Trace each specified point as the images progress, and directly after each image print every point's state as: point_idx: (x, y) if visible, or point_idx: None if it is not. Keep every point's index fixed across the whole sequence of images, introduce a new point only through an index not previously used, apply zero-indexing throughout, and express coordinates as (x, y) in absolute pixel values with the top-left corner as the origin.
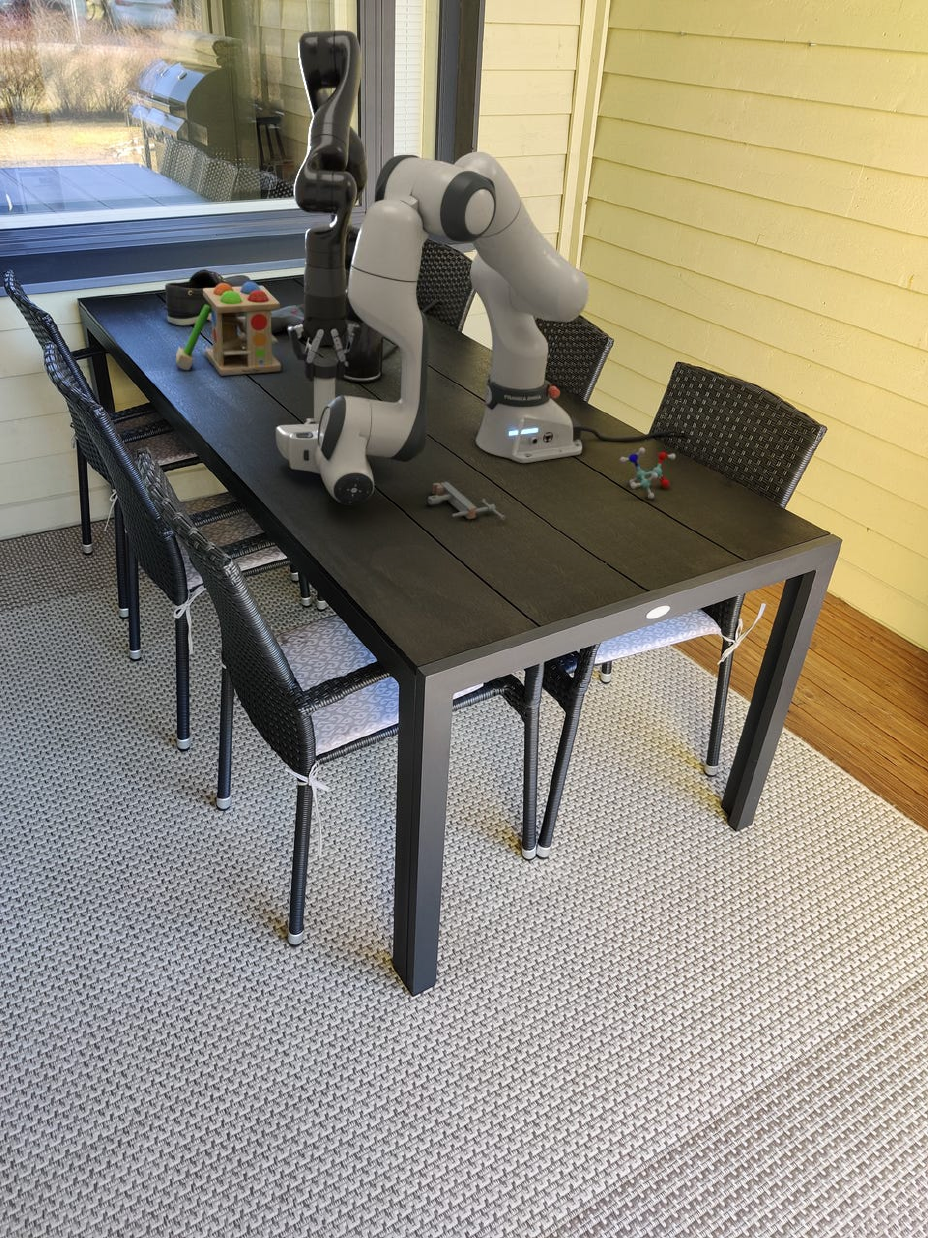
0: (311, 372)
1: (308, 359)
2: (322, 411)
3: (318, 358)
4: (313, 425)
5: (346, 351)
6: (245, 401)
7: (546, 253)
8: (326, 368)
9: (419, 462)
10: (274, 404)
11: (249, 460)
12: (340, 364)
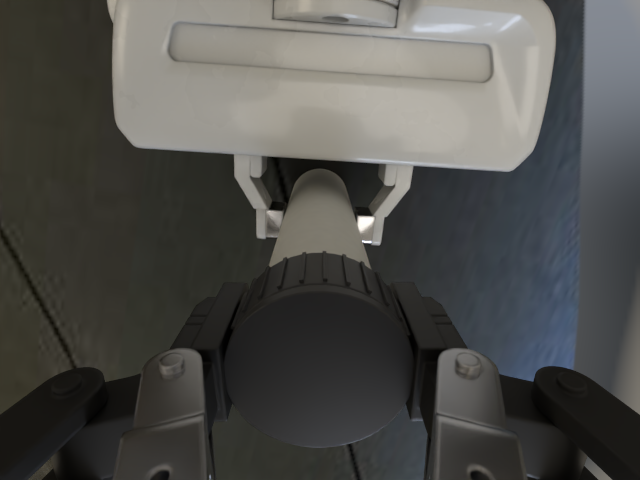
0: (420, 307)
1: (480, 368)
2: (338, 207)
3: (345, 439)
4: (389, 139)
5: (108, 437)
6: (422, 475)
7: None
8: (330, 283)
9: (53, 88)
10: (366, 457)
11: (523, 191)
12: (205, 336)
